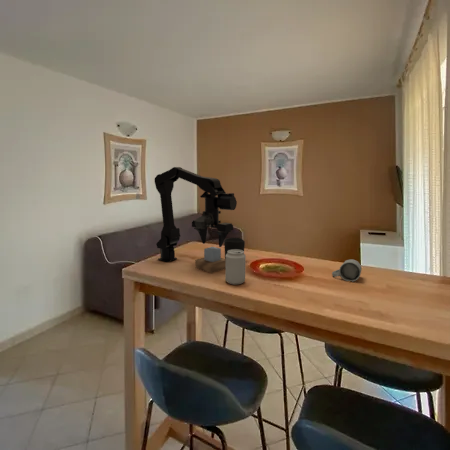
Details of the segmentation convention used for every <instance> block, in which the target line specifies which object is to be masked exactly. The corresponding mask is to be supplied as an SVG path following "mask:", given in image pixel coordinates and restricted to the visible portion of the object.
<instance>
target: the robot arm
mask: <svg viewBox="0 0 450 450" xmlns="http://www.w3.org/2000/svg"><path fill="white" fill-rule="evenodd" d="M179 179H181V180H183V181H185V182H186V181H187V182H188V183H191V184H194V185H196V186H197V187H198V188H199V189H200V190H202V191H203V193H202V194H201V195H200V196H199V197H200V198H202V199H203V198H204V211H202V215H201V216H199V217H198V218H196V219H194V220H192V222H191V227H192V228H193V229H194V230H196V231H197V232H198V234H199V237H200V239H201V242H202V245H203V244H206V241H207V234H208V228H213V229H216V230H217V231H216V233H217V235H218V248H221V247H222V246H223V244H224V241H225V239H227V236H228V234H229V233H231V231H234V225H233V223H232V222H231V223H230V222H222V223H221V220H219V218H220V214H221V213H222V212H221V210H224V211H235V210H236V208H237V205H238V204H237V203H238V202H237V199H236V197H235V193H234V192H230V193H228V192H226V191H225V189H224V188H223V186H222V184H221V180H220V179H218V178H215V177H210V176H202V175H200V174H198V173H195V172H191V171H190V170H187V169H184V168H182V167H180V166H174V167H171V168H170V169H169V170H166V171H165V172H161V173H159V174H157V175H155V177H154V186H155V188H156V190H157V192H158V193H159V195H160V196H159V197H160V198H159V199H160V203H161V204H160V205H161V213H162V223H163V224H162V225H163V227H162V229H161V231H160V239H159V240H158V241H156V248H157V249H159V250H160V251H159V252H160V257H159V258H157V261H162V262H166V263H168V262H172V261H175V260H177V259H178V258H177V257H176V255H175V247H176V246H177V245H178V242H179V241H180V237H181V231H180V228H179V227H178V228H177V226H176V225H175V217H174V210H173V200H172V199H173V198H172V197H173V196H172V192H173V190H174V183H175V182H176V181H178V180H179Z"/></svg>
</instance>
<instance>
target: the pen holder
mask: <svg viewBox="0 0 450 450" xmlns="http://www.w3.org/2000/svg"><path fill="white" fill-rule="evenodd" d="M223 244H224V259H226V254H227V253H228V252H227V251H228V250H234V249H235V250H242V251H244V252H245V246H246V245H245V244H246V242H245V240H244V239H243V238H241V237H226V238H225V240H224V242H223Z"/></svg>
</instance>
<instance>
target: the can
mask: <svg viewBox="0 0 450 450" xmlns="http://www.w3.org/2000/svg"><path fill="white" fill-rule="evenodd" d="M227 252H228V253H227V254H226V269H224V271H225V273H224V274H225V276H224V277H225V282H227V284H230V285H236V286H237V285H241V284H243V283H244V282H245V281H246V263H247V261H246V259H247V258H246V257H247V256H246V254H245V250H244V251H242V250H235V249H234V250H228V251H227Z"/></svg>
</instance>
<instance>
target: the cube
mask: <svg viewBox="0 0 450 450" xmlns="http://www.w3.org/2000/svg"><path fill="white" fill-rule="evenodd" d="M203 250H204V251H203V253H204V254H203V255H204V256H203V258H204V260H206V261H210V262H215V261H218V260H221V258H222V257H221V256H222V253H221V251H222V249H221V247H215V246H209V247H206V248H204V249H203Z"/></svg>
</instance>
